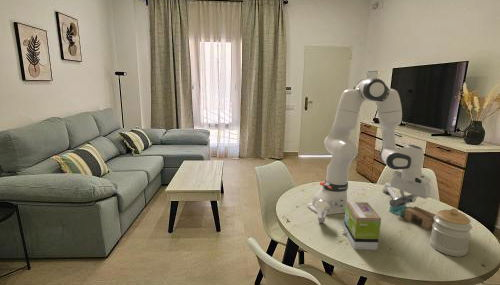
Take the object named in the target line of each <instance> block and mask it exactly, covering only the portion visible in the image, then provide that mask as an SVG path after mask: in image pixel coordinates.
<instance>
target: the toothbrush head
mask: <svg viewBox="0 0 500 285" xmlns="http://www.w3.org/2000/svg"><path fill="white" fill-rule="evenodd" d="M390 183H391V182H385V183H384V185H383V186H382V193H383V194H386V195H389V196H391V198H392V199H396V198H400V197H401V196H400V195H399V194H398V192H396V190H394V188H393V187H392V186H391V185H390ZM406 205H407V204H405V207H407V206H406Z"/></svg>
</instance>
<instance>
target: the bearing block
mask: <svg viewBox="0 0 500 285" xmlns="http://www.w3.org/2000/svg"><path fill="white" fill-rule="evenodd" d="M411 207H412V208H408V209H406V210H405V215H404V217H403V219H404V220H405V221H407V222H410V223H412V222H415V221H418V220H421V219H422V220H421V227H420V228H422V229H424V230H427V231H431V230H432V227H433V226H432V225H433V223H434V222H435V221H434V216H436V215H437V214H435V213H433V212H431V211H428V210H425V209H423V208H421V207H418V206H416V205H415V206H411Z"/></svg>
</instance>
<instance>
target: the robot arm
mask: <svg viewBox="0 0 500 285" xmlns="http://www.w3.org/2000/svg"><path fill="white" fill-rule="evenodd" d="M365 101H370V102H371V101H373V102H374V103H375V104H376V109H377V110H376V111H377V117H378V121H379V122H378V123H379V125H380V128H381V137H382V147H381V150H380V153H379V156H380V160H381V161H382V162H383V164H385V165H386V166H388V168H390V169H392V170H394V171H393V172H392V176H391V180H390V182H389V183H390V185H391V187H392V188H393V189H394V188H395V189H397V190H399V193H400V197H403V196H407V195H405V193H408V194H409V195H411V194H413V198H411V199H410V202H411V203H415V202H416V201H415V199H416V200H417V198H418V197H419V198H421V199H423V200H426V199H428V198H430V197H431V193H432V191H431V190H432V188H431V184H430V183H431V182H432V180H431V178H429V177H428V176H426V175H425V174H424V173H422V172H423V170H422V167H423V165H424V158H425V157H424V155H425V153H424V149H423V148H422V147H421V146H418V145H416V144H407V145H405V146H404V147H401V148H398V147H397V145H396V134H395V133H396V132H395V131H396V129H397V127H398V126H399V125H401V123H402V119H403V109H402V108H403V107H402V102H401V97H400V94H399V92H398V91H397V90H396V89H394V88H389V87H388V86H387V84H386V83H385V81H383V80H382V79H379V78H376V77H368V78H364V79H361V80H360V81H358V82H357V83H356V84H355V86H354V87H353V88H348V89H345V90H344V91H343V92H342V94H341V96H340V99H339V101H338V104H337V108H336V113H335V117H334V121H333V124H332V126H331V129H330V132H329V133H328V135H327V136H326V137H325V138H324V140H323V145H324V148H325V149H326V151H327V152H328V153H329V154H331V160H330V163H329V164H328V165H327V168H326V177H325V178H326V179H325V181H320V182H319V186H322V187H321V188H320V189H319V190H318V191H317V192H315V194H314V195H313V196H312V200H311V202H308V203H307V207H308V209H310V210H311V211H312V212H315V213H316V214H317V211H316V209H315V204H316V202H317V201H318V200H320V199H324V200H326V201H327V202H328V203H329V205H330V209H329V212H328V213H327V214H326V216H330V215H336V214H345V210H346V202H348V188H349V182H348V181H349V180H348V179H349V171H350V168H351V167H350V166H351V164H352V161H353V160H355V159H356V158H357V156H358V153H359V149H358V146H357V145H356V144H355V143H354V142H353V141H352V140H350V139H349V137H350V135H351V134H352V132H353V131H354V130H355V129H356V127H357V124H358V120H359V117H360V116H359V115H360V112H361V107H362V105H363V103H364V102H365ZM397 170H401V171H397ZM404 192H405V193H404Z"/></svg>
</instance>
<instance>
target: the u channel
mask: <svg viewBox="0 0 500 285" xmlns="http://www.w3.org/2000/svg"><path fill="white" fill-rule="evenodd" d="M412 207H413V206H408V207H407V206H405V204H404V205H401V206H398V207H391V206H390V207H389V212H390V213H392V214H394V215H396V216H399V217H403V216H405V210H406V209H408V208H412Z"/></svg>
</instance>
